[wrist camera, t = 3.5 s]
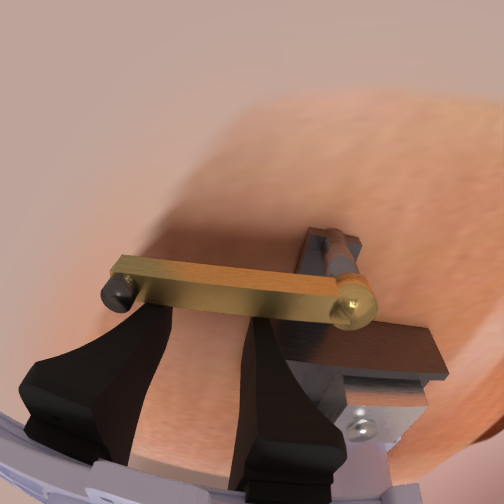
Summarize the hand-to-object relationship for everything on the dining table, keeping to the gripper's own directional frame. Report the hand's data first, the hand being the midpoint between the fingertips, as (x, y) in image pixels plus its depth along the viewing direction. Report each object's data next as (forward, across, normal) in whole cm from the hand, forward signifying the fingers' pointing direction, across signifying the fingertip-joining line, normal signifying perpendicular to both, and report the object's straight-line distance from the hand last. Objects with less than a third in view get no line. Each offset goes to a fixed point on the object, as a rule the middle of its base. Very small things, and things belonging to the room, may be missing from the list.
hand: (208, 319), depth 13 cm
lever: (0, -1, -2) cm, 3 cm away
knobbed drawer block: (+1, -10, +5) cm, 11 cm away
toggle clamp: (+4, -8, +2) cm, 9 cm away
